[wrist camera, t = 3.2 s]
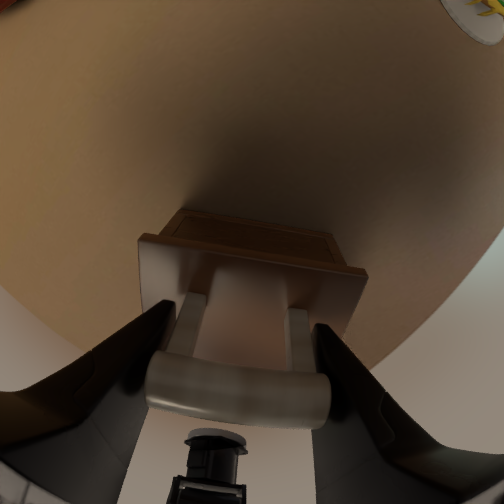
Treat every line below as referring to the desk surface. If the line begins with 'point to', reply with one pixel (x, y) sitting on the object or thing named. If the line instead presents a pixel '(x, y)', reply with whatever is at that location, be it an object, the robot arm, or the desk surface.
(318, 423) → the lid
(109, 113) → the desk surface
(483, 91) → the desk surface
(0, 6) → the heart
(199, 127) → the desk surface
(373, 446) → the robot arm
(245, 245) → the chest
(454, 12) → the figurine
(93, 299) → the desk surface
